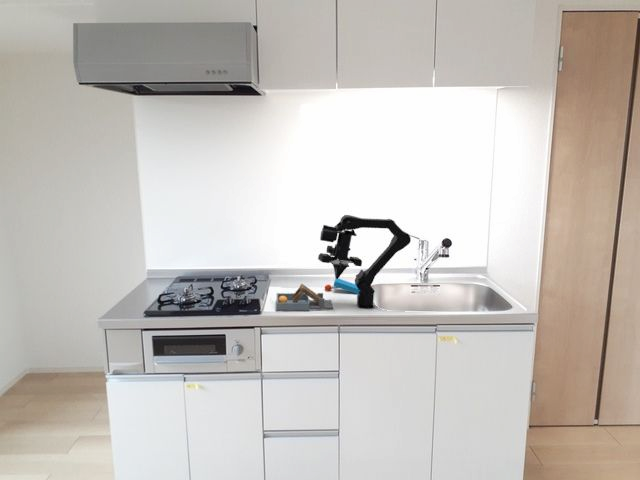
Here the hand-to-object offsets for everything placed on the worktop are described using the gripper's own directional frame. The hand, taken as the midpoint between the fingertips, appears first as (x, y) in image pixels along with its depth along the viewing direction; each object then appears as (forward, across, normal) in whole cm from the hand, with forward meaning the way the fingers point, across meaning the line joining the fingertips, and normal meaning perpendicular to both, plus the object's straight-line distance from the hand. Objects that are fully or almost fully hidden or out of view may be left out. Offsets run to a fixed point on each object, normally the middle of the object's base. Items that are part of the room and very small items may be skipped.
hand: (336, 278), depth 203 cm
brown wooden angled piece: (+14, +6, -2) cm, 15 cm away
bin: (+15, +16, -4) cm, 23 cm away
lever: (+12, -14, -19) cm, 26 cm away
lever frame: (+13, +4, -1) cm, 14 cm away
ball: (+13, +21, -5) cm, 25 cm away
